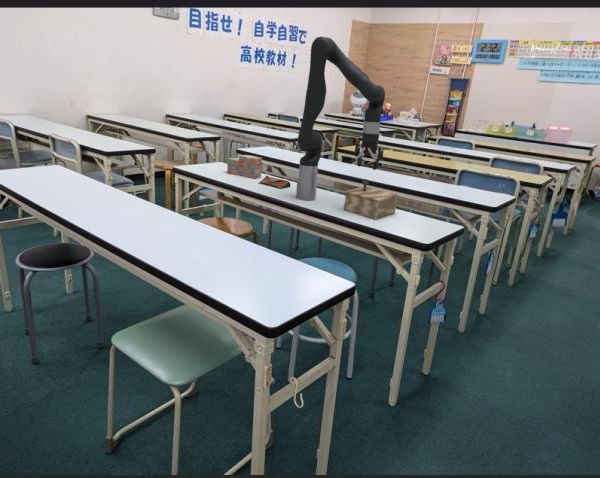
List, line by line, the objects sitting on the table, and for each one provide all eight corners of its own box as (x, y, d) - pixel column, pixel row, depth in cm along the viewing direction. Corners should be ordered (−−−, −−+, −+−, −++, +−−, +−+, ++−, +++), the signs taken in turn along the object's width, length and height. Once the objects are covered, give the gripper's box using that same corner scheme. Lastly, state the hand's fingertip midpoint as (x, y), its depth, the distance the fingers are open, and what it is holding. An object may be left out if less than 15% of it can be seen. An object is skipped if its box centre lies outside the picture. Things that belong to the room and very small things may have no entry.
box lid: (344, 193, 205) (346, 178, 202) (365, 188, 216) (366, 175, 214) (378, 202, 193) (380, 187, 191) (398, 196, 204) (400, 182, 202)
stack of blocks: (226, 173, 267) (227, 153, 263) (233, 172, 272) (233, 152, 268) (255, 179, 257) (255, 158, 253) (261, 178, 262) (262, 157, 258)
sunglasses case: (256, 183, 248) (260, 172, 248) (263, 187, 254) (267, 177, 254) (281, 189, 238) (285, 178, 239) (287, 193, 244) (291, 182, 245)
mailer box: (343, 210, 208) (345, 193, 205) (363, 204, 219) (365, 189, 216) (375, 219, 196) (377, 202, 193) (394, 213, 207) (396, 197, 205)
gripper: (353, 130, 199) (349, 166, 205) (379, 134, 190) (375, 171, 196) (363, 129, 204) (359, 164, 210) (389, 133, 195) (384, 169, 201)
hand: (367, 167), depth 203 cm, fingers open, 8 cm apart
